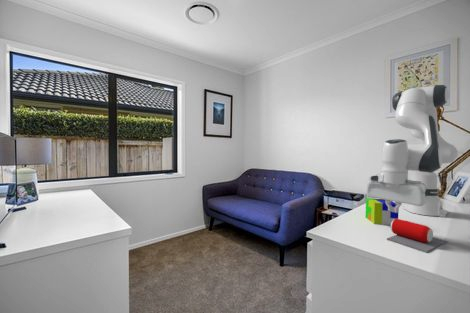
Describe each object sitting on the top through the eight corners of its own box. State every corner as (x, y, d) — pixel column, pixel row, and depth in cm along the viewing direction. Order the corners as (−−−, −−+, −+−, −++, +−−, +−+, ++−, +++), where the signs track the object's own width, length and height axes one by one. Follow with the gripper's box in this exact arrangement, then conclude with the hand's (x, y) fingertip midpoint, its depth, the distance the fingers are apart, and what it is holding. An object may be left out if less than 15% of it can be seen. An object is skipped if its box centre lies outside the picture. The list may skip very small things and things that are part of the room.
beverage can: (394, 214, 88) (432, 223, 78) (397, 226, 90) (435, 236, 79) (387, 224, 85) (426, 234, 75) (391, 236, 87) (428, 247, 77)
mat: (408, 231, 91) (408, 230, 91) (447, 242, 80) (447, 240, 80) (386, 239, 82) (387, 238, 82) (426, 252, 71) (426, 251, 71)
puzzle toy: (398, 225, 98) (398, 204, 98) (374, 223, 100) (374, 202, 100) (387, 218, 108) (387, 199, 108) (365, 217, 110) (366, 198, 110)
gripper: (429, 181, 80) (428, 217, 80) (372, 175, 98) (371, 205, 98) (422, 182, 77) (420, 220, 77) (364, 176, 95) (363, 206, 95)
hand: (392, 211), depth 88 cm, fingers closed
